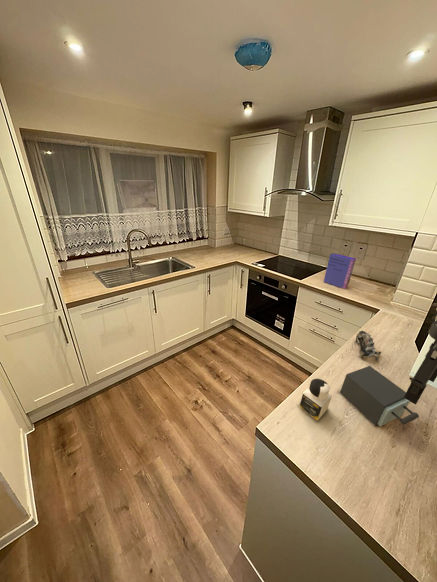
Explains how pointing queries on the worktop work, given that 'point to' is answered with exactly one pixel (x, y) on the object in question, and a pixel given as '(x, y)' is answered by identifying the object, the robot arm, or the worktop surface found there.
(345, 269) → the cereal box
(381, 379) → the dark grey drawer box
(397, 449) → the worktop surface
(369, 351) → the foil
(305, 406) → the medicine bottle
